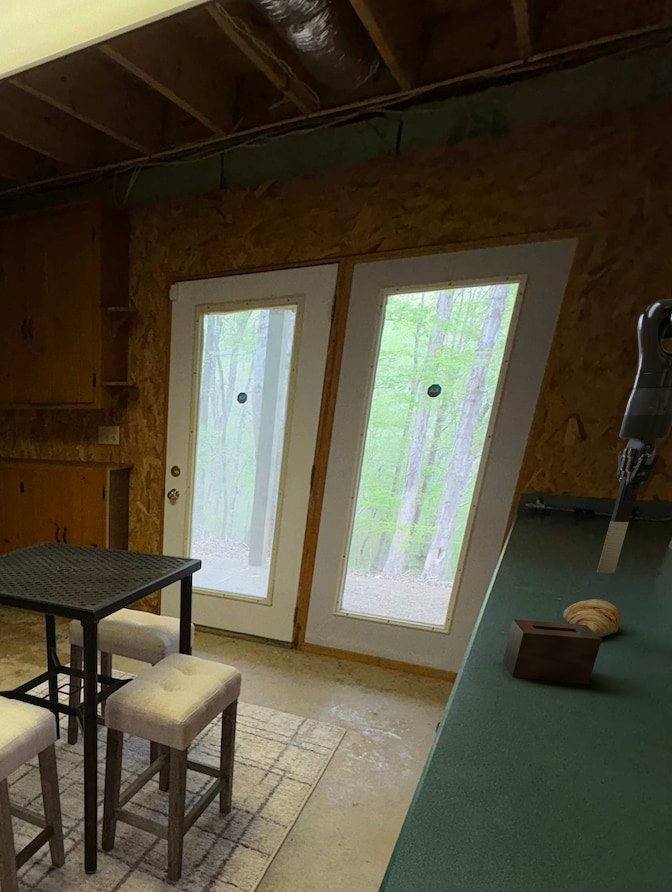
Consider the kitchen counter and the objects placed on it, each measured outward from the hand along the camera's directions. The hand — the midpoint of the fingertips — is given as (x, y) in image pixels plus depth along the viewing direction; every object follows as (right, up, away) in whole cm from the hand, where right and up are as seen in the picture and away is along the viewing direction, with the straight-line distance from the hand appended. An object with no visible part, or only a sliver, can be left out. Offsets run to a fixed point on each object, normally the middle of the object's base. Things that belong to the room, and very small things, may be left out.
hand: (625, 501), depth 129 cm
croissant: (+4, -26, +14) cm, 30 cm away
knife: (0, -14, +5) cm, 15 cm away
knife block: (-23, -35, -8) cm, 43 cm away
